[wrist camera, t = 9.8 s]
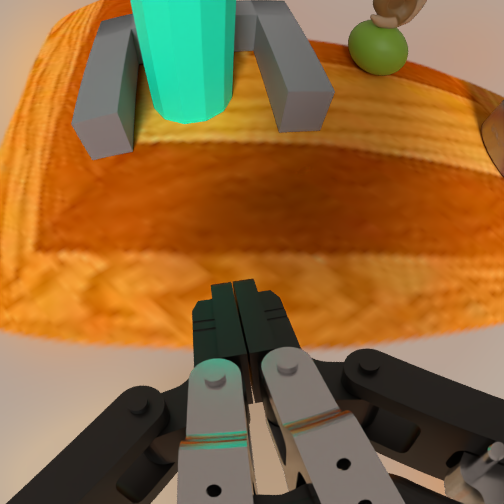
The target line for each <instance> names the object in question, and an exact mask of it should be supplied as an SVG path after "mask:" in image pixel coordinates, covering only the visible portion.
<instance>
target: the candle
mask: <svg viewBox="0 0 504 504" xmlns="http://www.w3.org/2000/svg"><path fill="white" fill-rule="evenodd" d="M131 6H132V11H133V16H134V21H135V26H136V31H137V36H138V40H139V45H140V50H141V54H142V59H143V63H144V67H145V72H146V76H147V80H148V85H149V89H150V93H151V97H152V101H153V105H154V109H155V110H156V111H157V112H158V113H159V114H160V115H161V116H162V117H163V118H164V119H166V120H170V121H174V122H178V123H182V124H188V123H195V122H202V121H207V120H209V119H211V118H212V117H214V116H216V115H218V114H219V113H221V112H223V111H224V110H225V108H226V107H227V105H228V103H229V102H230V100H231V98H232V84H233V58H234V35H235V14H236V0H131Z"/></svg>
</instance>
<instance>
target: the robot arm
mask: <svg viewBox="0 0 504 504" xmlns="http://www.w3.org/2000/svg"><path fill="white" fill-rule="evenodd" d="M482 137H483V140H484V143H485V146H486V148H487V151H488V153H489V155H490V156H491V158H492V160H493V162H494V163H495V165H496V166H497V168H498V170H499V171H500V172H501V174H502V175H503V176H504V100H503V101H502V102H501V103H500V105H499V106H498V107H497V108H496V109H495V110H494V111H493V112H492V114H491V115H490V116H489V117H488V118H487V119H486V120H485V121H484V123H483V125H482ZM233 289H234V293H233ZM211 291H212V299H210V300H203V301H198V302H197V304H196V306H195V307H194V309H193V311H192V320H193V349H194V369H193V370H192V371H191V373H190V376H189V379H188V380H187V381H186V382H184V383H183V384H182V385H180V386H179V387H176V388H174V389H171V390H169V391H166V392H163V393H160V392H159V391H158V390H156V389H155V388H152V387H149V386H136V387H132V388H130V389H128V390H126V391H125V392H123V393H122V394H121V395H120V396H119V397H118V398H117V399H116V400H115V401H114V402H112V404H111V405H110V406H108V407H107V408H106V409H105V410H104V411H103V412H102V413H101V414H100V415H99V416H98V417H97V418H96V419H95V420H94V421H93V422H92V423H91V424H90V425H89V426H88V427H87V428H85V429H84V430H83V431H82V432H81V433H80V434H79V435H78V436H77V437H76V438H75V439H74V440H73V441H72V442H71V443H70V444H69V445H68V446H67V447H66V448H65V449H64V450H62V451H61V452H60V453H59V454H58V455H57V456H56V457H55V458H54V459H53V460H52V461H51V462H50V463H49V464H48V465H47V466H46V467H45V468H43V469H42V470H41V471H40V472H39V473H38V474H37V475H36V476H35V477H34V478H33V479H32V480H31V481H30V482H29V483H28V484H27V485H25V486H24V487H23V489H21V490H20V491H19V492H18V493H17V494H16V495H15V496H14V497H13V498H12V499H10V501H8V502H7V503H6V504H151V502H152V501H153V500H154V499H155V498H156V497H157V495H158V494H159V493H160V492H161V491H162V490H163V488H164V487H165V486H166V485H167V484H168V483H169V481H170V480H171V479H172V478H173V477H174V475H175V474H176V473H177V472H178V486H177V504H504V400H503V399H501V398H498V397H495V396H492V395H490V394H487V393H484V392H482V391H479V390H476V389H473V388H471V387H468V386H466V385H463V384H460V383H458V382H455V381H452V380H450V379H447V378H445V377H442V376H440V375H437V374H434V373H432V372H429V371H427V370H424V369H422V368H419V367H417V366H414V365H412V364H409V363H407V362H404V361H402V360H400V359H397V358H394V357H392V356H390V355H388V354H385V353H383V352H380V351H378V350H374V349H360V350H356V351H354V352H352V353H351V354H350V355H348V356H347V358H346V359H345V362H323V361H318V360H315V359H313V358H311V357H310V355H309V354H308V353H306V352H305V351H303V350H302V349H301V347H300V345H299V343H298V340H297V338H296V335H295V333H294V331H293V328H292V326H291V323H290V321H289V319H288V317H287V314H286V311H285V309H284V307H283V304H282V302H281V300H280V297H278V296H277V295H276V294H274V293H273V292H272V291H271V290H268V291H262V292H258V291H257V288H256V285H255V282H254V279H247V280H241V281H234V282H233V288H232V283H231V282H228V283H221V284H214V285H211ZM251 386H252V391H253V395H254V399H255V403H258V402H263V405H264V410H265V417H266V423H267V426H268V429H269V432H270V435H271V437H272V440H273V443H274V446H275V449H276V451H277V454H278V457H279V460H280V462H281V465H282V468H283V471H284V474H285V479H286V483H287V487H288V490H289V492H287V493H285V494H282V495H258V492H257V485H256V479H255V471H254V462H253V453H252V445H251V436H250V427H249V424H250V413H249V407H248V404H253V398H252V391H251ZM375 451H376V452H378V453H380V454H382V455H384V456H387V457H389V458H391V459H393V460H395V461H397V462H400V463H402V464H404V465H407V466H409V467H411V468H414V469H416V470H418V471H421V472H423V473H426V474H428V475H431V476H433V477H436V478H438V479H441V480H443V481H444V487H445V494H446V495H447V497H446V496H444V495H441V494H439V493H436V492H434V491H432V490H430V489H427V488H425V487H423V486H421V485H418V484H416V483H414V482H412V481H410V480H408V479H406V478H403V477H401V476H397V475H394V474H390V473H388V472H387V471H386V469H385V467H384V466H383V464H382V462H381V461H380V459H379V457H378V455H377V453H376V452H375ZM451 498H452V499H451Z"/></svg>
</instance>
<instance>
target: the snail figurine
mask: <svg viewBox="0 0 504 504" xmlns="http://www.w3.org/2000/svg"><path fill="white" fill-rule="evenodd" d="M426 1H427V0H373V7H374V9H375V11H376V13H377V15H371V16H370V18H371V20H367V21H364V22H361V23H359V24H358V25H357V26H356V27H355V28H354V29H353V30H352V31H351V34H350V36H349V40H348V48H349V52H350V55H351V57H352V59H353V60H354V62H355V63H356V64H357V65H358V66H359V67H360V68H362V69H363V70H365V71H366V72H368V73H371V74H374V75H382V76H383V75H390V74H393V73H395V72H397V71H398V70H400V69H401V68H402V67H403V65H404V64H405V62H406V60H407V56H408V46H407V42H406V40H405V38H404V36H403V34H402V33H401V32H400V31H399V30H398V29H397V27H399V26H401V25H404V24H406V23H408V22H410V21H411V20H412V19H413V18H414V17H415V16H416V15H417V14H418V13H419V11H420V10H421V9H422V8H423V6H424V4H425V3H426Z"/></svg>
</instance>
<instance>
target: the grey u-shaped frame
mask: <svg viewBox="0 0 504 504" xmlns="http://www.w3.org/2000/svg"><path fill="white" fill-rule="evenodd" d="M236 51H254V54H255V57H256V60H257V63H258V66H259V69H260V72H261V75H262V78H263V81H264V85H265V88H266V91H267V94H268V97H269V100H270V104H271V107H272V110H273V114H274V117H275V120H276V124H277V127H278V130H279V133H280V132H298V131H320V129H321V126H322V124H323V121H324V119H325V116H326V113H327V111H328V108H329V106H330V103H331V100H332V98H333V95H334V93H335V91H334V89H333V87H332V85H331V83H330V81H329V79H328V77H327V75H326V73H325V71H324V69H323V67H322V65H321V63H320V61H319V60H318V58H317V56H316V54H315V52H314V50H313V48H312V47H311V45H310V43H309V41H308V40H307V38H306V36H305V34H304V33H303V31H302V29H301V28H300V26H299V24H298V22H297V21H296V19H295V18H294V16H293V14H292V12H291V11H290V9H289V8H288V6H287V5H286V3H285V1H271V0H245V1H236V14H235V35H234V52H236ZM142 63H143V59H142V54H141V50H140V45H139V40H138V36H137V31H136V26H135V21H134V16H133V14H129V15H125V16H120V17H116V18H112V19H108V20H105V21H101V24H100V27H99V29H98V32H97V35H96V38H95V40H94V43H93V46H92V49H91V52H90V55H89V59H88V62H87V65H86V68H85V72H84V75H83V79H82V82H81V86H80V90H79V94H78V98H77V102H76V106H75V110H74V115H73V119H72V126H73V128H74V130H75V131H76V133H77V135H78V137H79V138H80V140H81V142H82V143H83V145H84V147H85V148H86V150H87V152H88V153H89V155H90V157H91V158H92V160H95V159H99V158H104V157H109V156H113V155H118V154H123V153H128V152H133V133H134V115H135V101H136V89H137V78H138V69H139V64H142Z"/></svg>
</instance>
